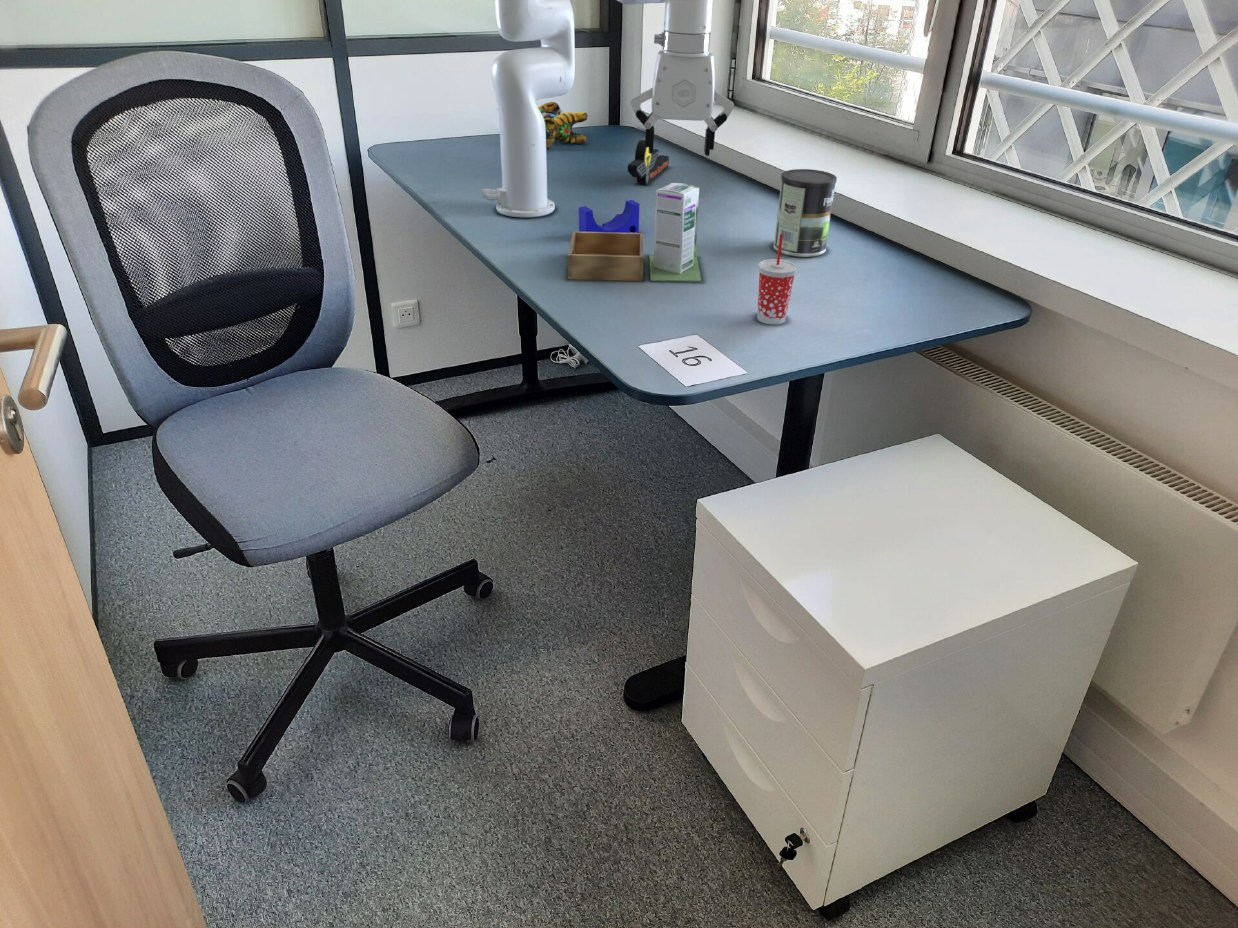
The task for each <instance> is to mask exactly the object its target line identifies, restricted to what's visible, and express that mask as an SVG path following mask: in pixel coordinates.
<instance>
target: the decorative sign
mask: <svg viewBox="0 0 1238 928" xmlns="http://www.w3.org/2000/svg"><path fill="white" fill-rule="evenodd" d="M659 152H660V151H659V149H657V148H653V153H652V154H649V147H645V139H644V140H643V139H639V140H638V142H637V144H636V147H635V152H634V159H633V160H632V161H631V162H629V163H628V164H627V173H629V175H631V177H632V178H636V184H637V185H641V186H642V185H643V186H648V185H649V184H650V183H651V182H652V181H654V179H656V178H657V177H658V176H659V175H661V174H662V173H664V171H665V170H667V168H668V167H669V164H670V163H669V162H670V160H669V159H670V157H669V155H663V154H659Z"/></svg>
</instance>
